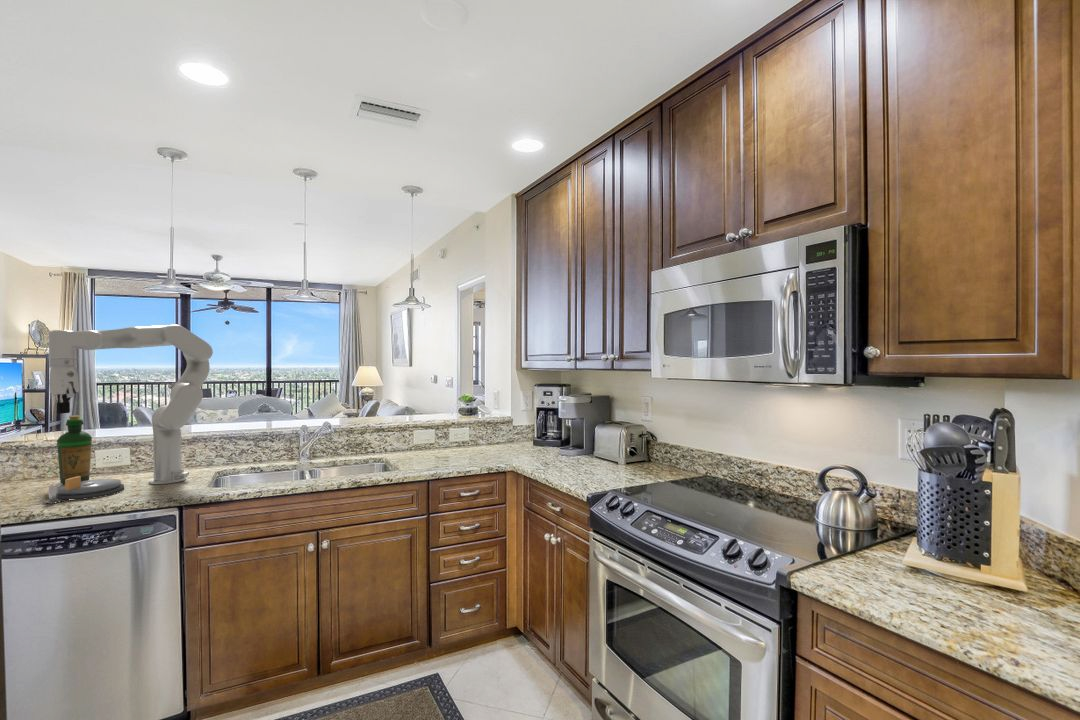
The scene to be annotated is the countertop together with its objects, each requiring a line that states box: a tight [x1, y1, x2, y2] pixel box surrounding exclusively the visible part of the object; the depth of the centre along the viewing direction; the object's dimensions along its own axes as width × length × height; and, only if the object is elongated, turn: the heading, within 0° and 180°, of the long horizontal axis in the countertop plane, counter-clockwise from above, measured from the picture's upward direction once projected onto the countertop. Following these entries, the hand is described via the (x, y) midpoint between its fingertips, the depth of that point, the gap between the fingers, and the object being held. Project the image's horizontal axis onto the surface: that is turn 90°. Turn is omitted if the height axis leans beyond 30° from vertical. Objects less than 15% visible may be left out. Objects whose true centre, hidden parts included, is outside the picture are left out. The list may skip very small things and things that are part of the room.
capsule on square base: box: [42, 482, 64, 503], centre depth 186 cm, size 5×4×6 cm
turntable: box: [58, 476, 122, 495], centre depth 198 cm, size 19×19×6 cm
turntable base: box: [58, 483, 125, 500], centre depth 198 cm, size 21×21×2 cm
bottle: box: [56, 415, 93, 485], centre depth 211 cm, size 11×11×28 cm
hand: (63, 413), depth 193 cm, fingers closed
